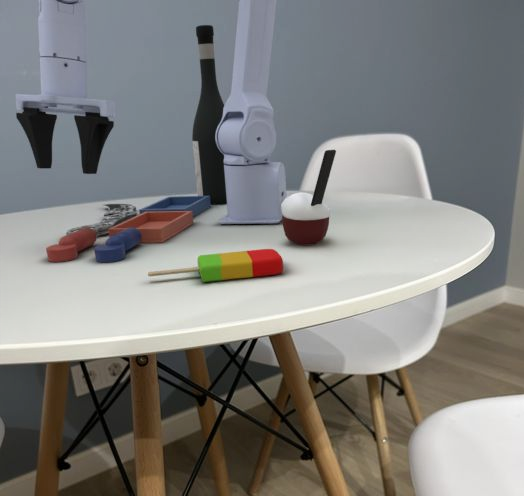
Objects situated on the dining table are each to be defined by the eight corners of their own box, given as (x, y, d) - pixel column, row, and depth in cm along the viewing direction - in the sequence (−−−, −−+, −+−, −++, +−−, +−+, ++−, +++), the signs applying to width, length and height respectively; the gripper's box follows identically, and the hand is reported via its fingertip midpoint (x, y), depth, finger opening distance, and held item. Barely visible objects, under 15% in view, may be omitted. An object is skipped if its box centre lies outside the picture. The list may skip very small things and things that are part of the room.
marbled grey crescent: (101, 201, 113) (151, 195, 112) (102, 209, 113) (153, 203, 113) (53, 235, 87) (118, 227, 86) (55, 245, 87) (120, 237, 87)
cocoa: (277, 237, 81) (273, 147, 76) (321, 233, 82) (319, 144, 77) (291, 254, 72) (288, 153, 68) (340, 249, 73) (340, 149, 68)
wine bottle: (192, 205, 110) (173, 25, 98) (207, 198, 117) (191, 29, 105) (232, 205, 108) (218, 21, 96) (244, 197, 115) (233, 25, 103)
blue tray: (210, 206, 108) (209, 195, 107) (186, 221, 96) (184, 209, 95) (169, 207, 110) (168, 196, 109) (140, 221, 98) (138, 209, 97)
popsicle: (285, 274, 64) (284, 258, 64) (148, 289, 62) (146, 272, 61) (276, 262, 69) (275, 246, 69) (149, 275, 67) (146, 259, 66)
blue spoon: (125, 243, 83) (122, 225, 82) (149, 243, 82) (147, 225, 81) (90, 262, 74) (87, 242, 73) (117, 262, 73) (114, 242, 72)
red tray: (193, 223, 94) (192, 210, 93) (162, 242, 82) (160, 228, 82) (147, 223, 96) (145, 211, 95) (110, 242, 84) (107, 229, 84)
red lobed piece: (81, 243, 85) (78, 226, 84) (104, 243, 84) (102, 225, 83) (42, 262, 76) (38, 242, 75) (68, 262, 75) (64, 242, 74)
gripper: (-5, 53, 73) (2, 166, 78) (90, 57, 69) (92, 176, 73) (35, 62, 80) (39, 165, 84) (125, 66, 75) (124, 175, 79)
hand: (66, 171), depth 79 cm, fingers open, 7 cm apart
